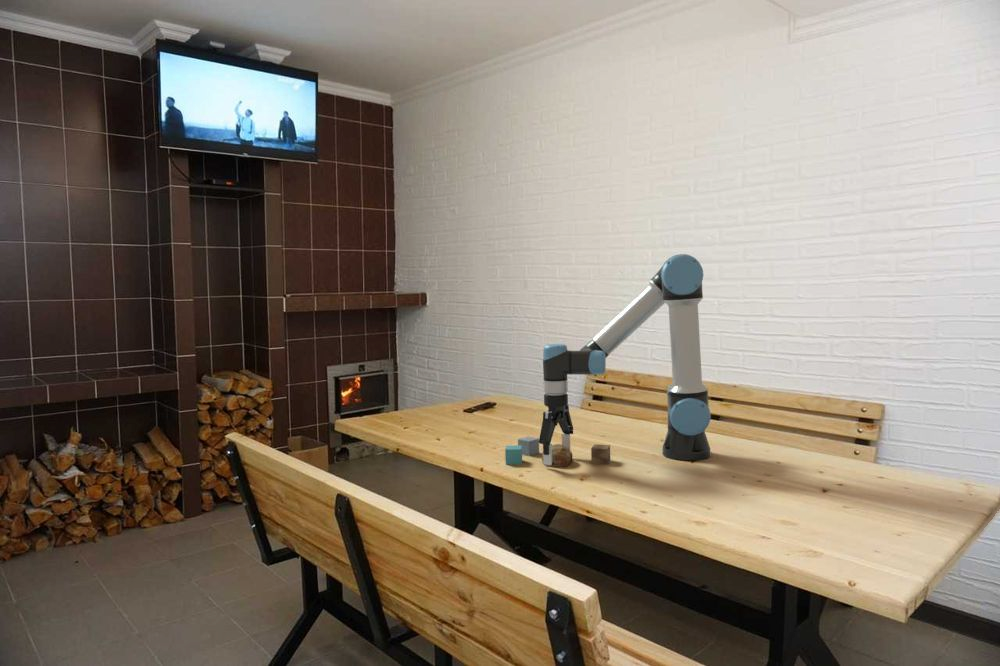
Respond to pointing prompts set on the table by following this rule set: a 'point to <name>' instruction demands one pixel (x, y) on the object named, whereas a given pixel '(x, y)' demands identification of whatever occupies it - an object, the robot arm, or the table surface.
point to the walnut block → (600, 454)
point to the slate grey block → (529, 445)
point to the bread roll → (560, 456)
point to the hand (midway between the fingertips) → (557, 459)
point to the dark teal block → (513, 455)
